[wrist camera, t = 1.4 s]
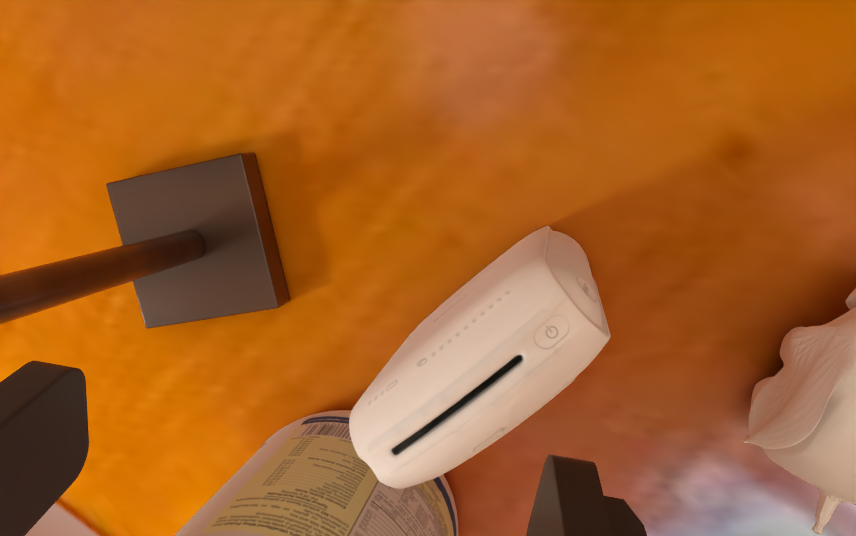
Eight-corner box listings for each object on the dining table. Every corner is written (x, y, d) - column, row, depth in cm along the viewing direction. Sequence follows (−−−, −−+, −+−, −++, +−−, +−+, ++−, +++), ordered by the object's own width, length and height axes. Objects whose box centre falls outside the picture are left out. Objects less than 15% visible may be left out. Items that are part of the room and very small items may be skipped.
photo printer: (552, 208, 30) (545, 251, 19) (610, 276, 30) (640, 363, 19) (397, 335, 33) (305, 444, 21) (450, 397, 33) (388, 540, 22)
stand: (123, 181, 35) (-169, 210, 21) (255, 152, 33) (30, 161, 19) (162, 321, 36) (-90, 436, 22) (290, 301, 34) (103, 412, 20)
